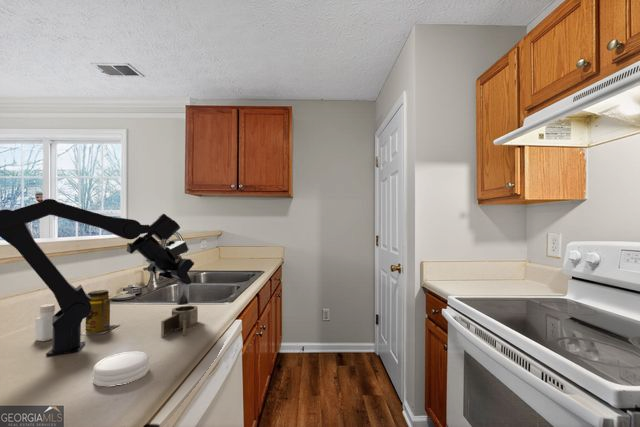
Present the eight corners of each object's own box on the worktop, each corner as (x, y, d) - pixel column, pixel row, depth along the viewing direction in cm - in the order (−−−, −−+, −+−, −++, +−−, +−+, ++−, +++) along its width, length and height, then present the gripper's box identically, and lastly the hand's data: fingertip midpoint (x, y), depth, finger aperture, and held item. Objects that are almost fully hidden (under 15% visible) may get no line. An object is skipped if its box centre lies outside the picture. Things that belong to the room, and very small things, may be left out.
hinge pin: (189, 304, 101) (189, 273, 101) (176, 305, 99) (177, 273, 99) (188, 301, 104) (189, 271, 104) (177, 302, 102) (177, 272, 103)
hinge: (198, 333, 91) (198, 316, 91) (160, 339, 87) (160, 321, 87) (197, 319, 105) (197, 304, 105) (164, 323, 101) (164, 307, 101)
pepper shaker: (42, 342, 85) (43, 307, 86) (34, 340, 87) (34, 306, 87) (59, 337, 89) (60, 304, 89) (50, 335, 90) (51, 303, 91)
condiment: (77, 335, 91) (78, 294, 91) (97, 325, 99) (98, 288, 100) (103, 334, 91) (103, 293, 92) (120, 325, 100) (121, 287, 100)
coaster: (80, 389, 61) (81, 371, 61) (114, 366, 71) (114, 350, 71) (131, 388, 61) (131, 370, 61) (157, 365, 71) (157, 350, 71)
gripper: (188, 232, 94) (219, 265, 102) (157, 232, 105) (187, 261, 113) (162, 261, 87) (197, 293, 96) (132, 257, 98) (166, 287, 106)
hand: (187, 282), depth 103 cm, fingers closed on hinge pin, 4 cm apart
